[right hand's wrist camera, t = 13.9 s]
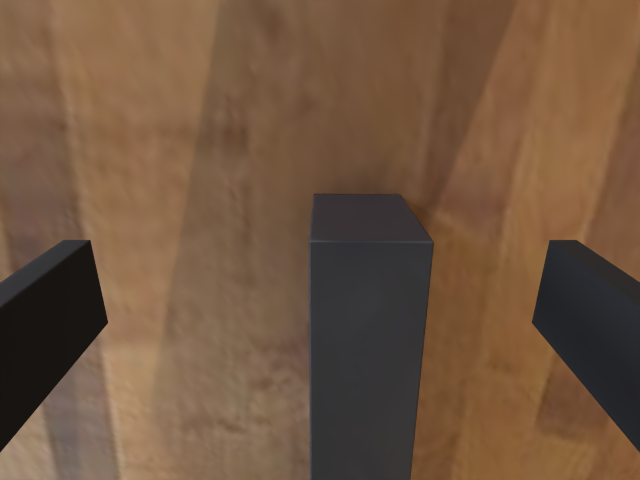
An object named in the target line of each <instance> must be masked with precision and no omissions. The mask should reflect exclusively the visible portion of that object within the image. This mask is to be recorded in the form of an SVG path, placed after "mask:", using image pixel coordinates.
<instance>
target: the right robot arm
mask: <svg viewBox="0 0 640 480" xmlns="http://www.w3.org/2000/svg"><path fill="white" fill-rule="evenodd" d="M107 323H108V320H107V315H106V310H105V306H104V301H103V297H102V292H101V287H100V283H99V278H98V273H97V269H96V264H95V260H94V255H93V250H92V246H91V241H90V240H63V241H61V242H60V243H58V244H57V245H55V246H54V247H53V248H51V249H50V250H48V251H47V252H45V253H44V254H42V255H41V256H39V257H38V258H36V259H35V260H33V261H32V262H30V263H29V264H27V265H26V266H24V267H23V268H21V269H20V270H18V271H17V272H15V273H14V274H12V275H11V276H9V277H8V278H6V279H5V280H3V281H2V282H0V452H1V451H2V450H3V449H4V447H5V446H6V445H7V444H8V443H9V441H10V440H11V439H12V438H13V437H14V435H15V434H16V433H17V432H18V430H19V429H20V428H21V427H22V426H23V424H24V423H25V422H26V421H27V420H28V418H29V417H30V416H31V415H32V414H33V412H34V411H35V410H36V409H37V408H38V406H39V405H40V404H41V403H42V402H43V400H44V399H45V398H46V397H47V396H48V394H49V393H50V392H51V391H52V390H53V388H54V387H55V386H56V385H57V384H58V382H59V381H60V380H61V379H62V378H63V376H64V375H65V374H66V373H67V372H68V370H69V369H70V368H71V367H72V366H73V364H74V363H75V362H76V361H77V360H78V358H79V357H80V356H81V355H82V354H83V352H84V351H85V350H86V349H87V348H88V346H89V345H90V344H91V343H92V342H93V340H94V339H95V338H96V337H97V335H98V334H99V333H100V332H101V331H102V329H103V328H104V327H105V326H106V325H107ZM532 323H533V325H534V326H535V327H536V328H537V329H538V331H539V332H540V333H541V334H542V335H543V337H544V338H545V339H546V340H547V342H548V343H549V344H550V345H551V346H552V348H553V349H554V350H555V351H556V352H557V354H558V355H559V356H560V357H561V358H562V360H563V361H564V362H565V363H566V364H567V366H568V367H569V368H570V369H571V370H572V372H573V373H574V374H575V375H576V376H577V378H578V379H579V380H580V381H581V382H582V384H583V385H584V386H585V387H586V388H587V390H588V391H589V392H590V393H591V394H592V396H593V397H594V398H595V399H596V400H597V402H598V403H599V404H600V405H601V406H602V408H603V409H604V410H605V411H606V412H607V414H608V415H609V416H610V417H611V418H612V420H613V421H614V422H615V423H616V424H617V426H618V427H619V428H620V429H621V431H622V432H623V433H624V434H625V435H626V437H627V438H628V439H629V440H630V441H631V443H632V444H633V445H634V446H635V447H636V449H637V450H638V451H639V452H640V282H638V281H637V280H635V279H634V278H632V277H631V276H629V275H628V274H626V273H625V272H623V271H622V270H620V269H619V268H617V267H616V266H614V265H613V264H611V263H610V262H608V261H607V260H605V259H604V258H602V257H601V256H599V255H598V254H596V253H595V252H593V251H592V250H590V249H589V248H587V247H586V246H585V245H583V244H582V243H580V242H579V241H577V240H550V241H549V246H548V250H547V255H546V260H545V264H544V269H543V273H542V278H541V283H540V287H539V292H538V297H537V301H536V306H535V310H534V315H533V320H532Z"/></svg>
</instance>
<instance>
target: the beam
mask: <svg viewBox="0 0 640 480" xmlns="http://www.w3.org/2000/svg"><path fill="white" fill-rule="evenodd" d="M433 246H434V242H433V240H432V239H431V238H430V236H429V235H428V233H427V232H426V230H425V229H424V228H423V226H422V225H421V223H420V222H419V221H418V219H417V218H416V216H415V215H414V213H413V212H412V211H411V209H410V208H409V206H408V205H407V203H406V202H405V201H404V199H403V198H402V196H401V195H386V194H314V198H313V208H312V217H311V227H310V237H309V357H310V480H410V477H411V467H412V457H413V447H414V437H415V427H416V417H417V407H418V397H419V387H420V377H421V367H422V356H423V346H424V336H425V326H426V316H427V306H428V296H429V286H430V276H431V266H432V256H433Z"/></svg>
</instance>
